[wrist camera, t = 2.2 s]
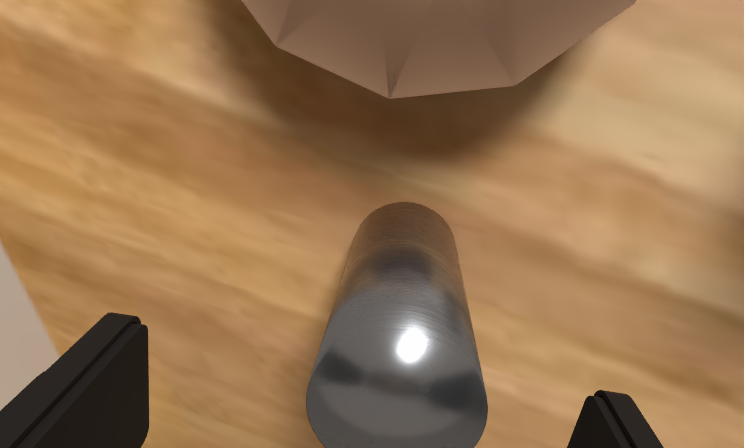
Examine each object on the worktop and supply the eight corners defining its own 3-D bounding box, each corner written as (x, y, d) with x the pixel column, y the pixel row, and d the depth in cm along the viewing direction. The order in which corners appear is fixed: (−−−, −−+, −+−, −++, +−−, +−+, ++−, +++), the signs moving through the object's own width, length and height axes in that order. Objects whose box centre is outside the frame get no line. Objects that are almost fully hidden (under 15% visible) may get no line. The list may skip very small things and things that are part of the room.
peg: (475, 263, 19) (522, 432, 11) (392, 313, 20) (375, 503, 12) (417, 182, 18) (419, 298, 10) (333, 238, 19) (270, 386, 11)
